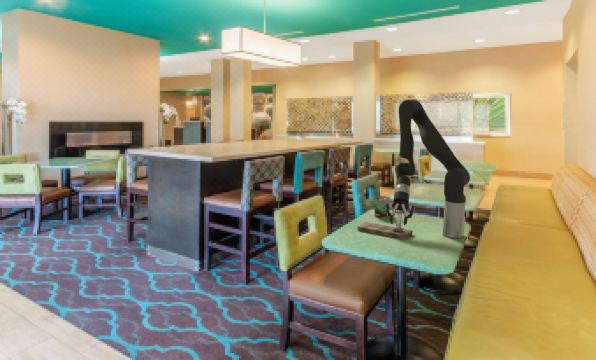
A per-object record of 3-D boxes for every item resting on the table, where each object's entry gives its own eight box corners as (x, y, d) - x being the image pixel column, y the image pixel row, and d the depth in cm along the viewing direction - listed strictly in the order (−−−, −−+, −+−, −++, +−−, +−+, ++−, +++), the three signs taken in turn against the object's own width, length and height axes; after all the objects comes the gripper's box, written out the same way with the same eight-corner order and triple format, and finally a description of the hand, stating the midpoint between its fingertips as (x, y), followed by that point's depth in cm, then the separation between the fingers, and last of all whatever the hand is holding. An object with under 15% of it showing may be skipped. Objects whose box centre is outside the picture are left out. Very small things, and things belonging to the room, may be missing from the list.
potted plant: (383, 218, 214) (384, 201, 212) (373, 217, 217) (374, 200, 216) (392, 214, 223) (393, 197, 222) (382, 212, 227) (383, 196, 225)
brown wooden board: (412, 234, 187) (412, 230, 186) (405, 239, 179) (405, 235, 178) (365, 225, 201) (366, 221, 200) (357, 230, 193) (357, 226, 192)
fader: (403, 229, 186) (404, 210, 184) (400, 232, 183) (401, 212, 181) (395, 228, 188) (396, 209, 186) (392, 230, 185) (393, 211, 183)
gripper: (386, 189, 191) (382, 218, 182) (416, 191, 186) (413, 221, 178) (387, 197, 197) (383, 226, 188) (416, 199, 192) (413, 229, 183)
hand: (398, 223), depth 183 cm, fingers open, 5 cm apart
